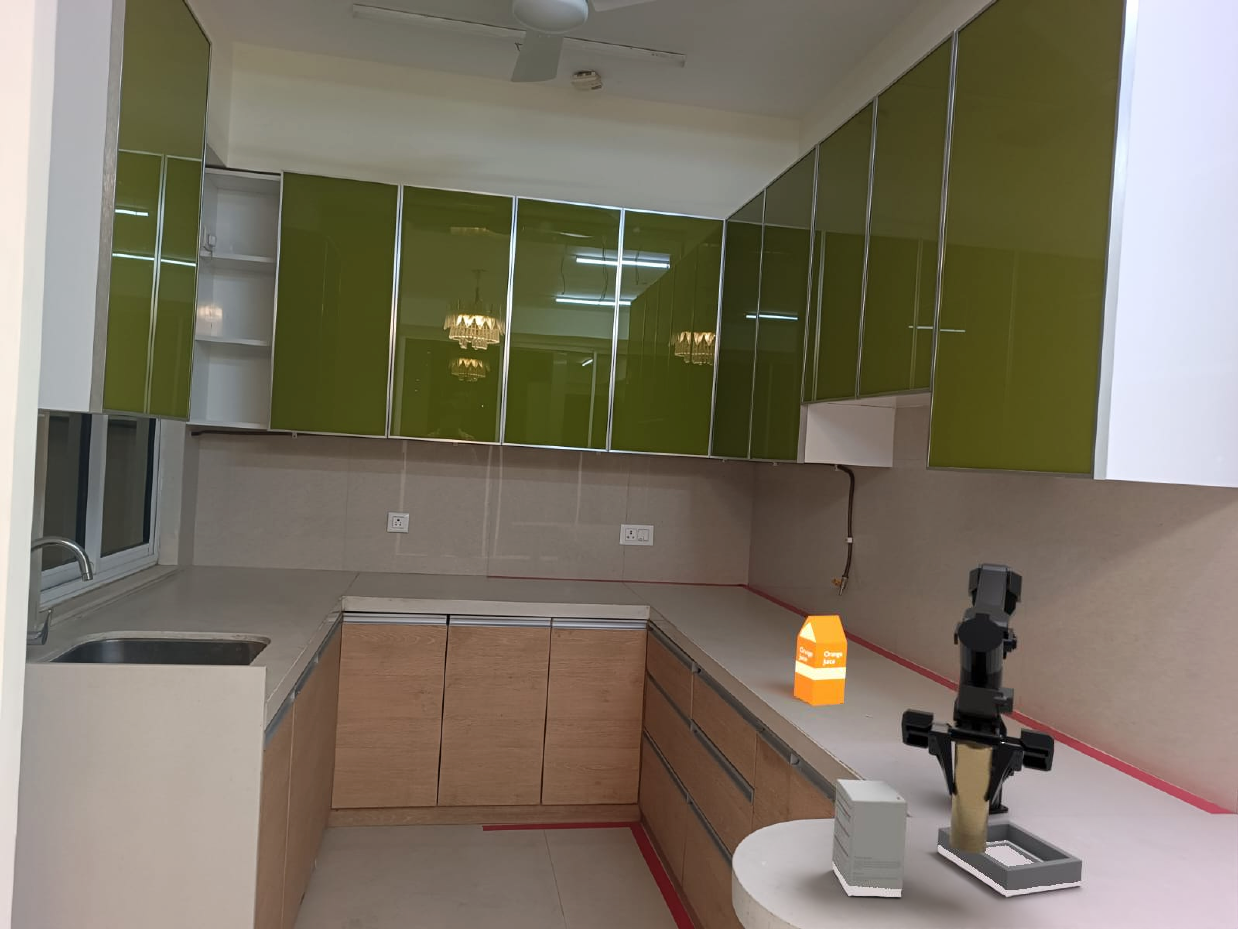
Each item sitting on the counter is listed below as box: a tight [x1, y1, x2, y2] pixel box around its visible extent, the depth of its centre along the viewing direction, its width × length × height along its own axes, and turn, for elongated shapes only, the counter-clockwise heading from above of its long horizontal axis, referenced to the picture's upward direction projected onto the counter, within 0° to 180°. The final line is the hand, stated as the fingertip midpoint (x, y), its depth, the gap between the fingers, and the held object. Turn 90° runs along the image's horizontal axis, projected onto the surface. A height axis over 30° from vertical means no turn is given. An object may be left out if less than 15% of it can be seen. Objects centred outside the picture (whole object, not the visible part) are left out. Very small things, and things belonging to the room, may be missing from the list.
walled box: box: [937, 819, 1083, 890], centre depth 119 cm, size 13×13×4 cm
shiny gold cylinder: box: [949, 740, 993, 853], centre depth 110 cm, size 4×4×13 cm
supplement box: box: [831, 778, 908, 890], centre depth 112 cm, size 7×7×13 cm
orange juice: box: [793, 615, 848, 706], centre depth 201 cm, size 8×9×20 cm
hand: (970, 798), depth 109 cm, fingers closed on shiny gold cylinder, 4 cm apart
